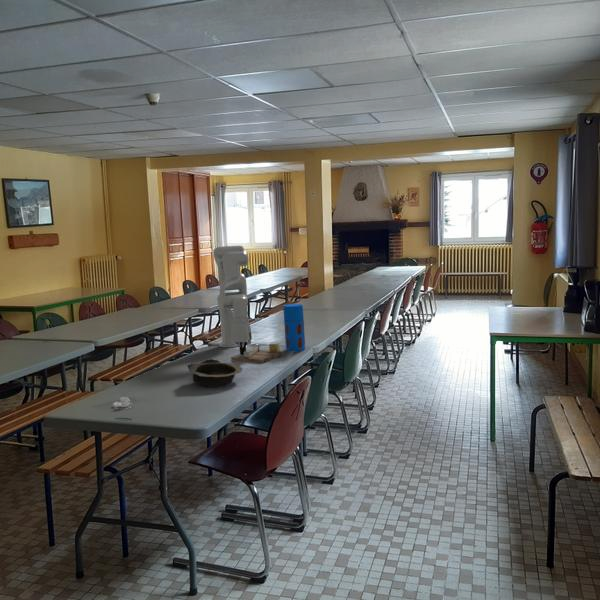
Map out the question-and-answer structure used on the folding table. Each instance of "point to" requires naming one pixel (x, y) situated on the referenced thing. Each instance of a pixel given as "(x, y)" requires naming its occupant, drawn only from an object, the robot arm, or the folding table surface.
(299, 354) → the folding table surface
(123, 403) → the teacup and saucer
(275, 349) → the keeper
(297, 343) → the thermos
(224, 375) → the brown round bowl
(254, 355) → the plate
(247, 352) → the lock bar
